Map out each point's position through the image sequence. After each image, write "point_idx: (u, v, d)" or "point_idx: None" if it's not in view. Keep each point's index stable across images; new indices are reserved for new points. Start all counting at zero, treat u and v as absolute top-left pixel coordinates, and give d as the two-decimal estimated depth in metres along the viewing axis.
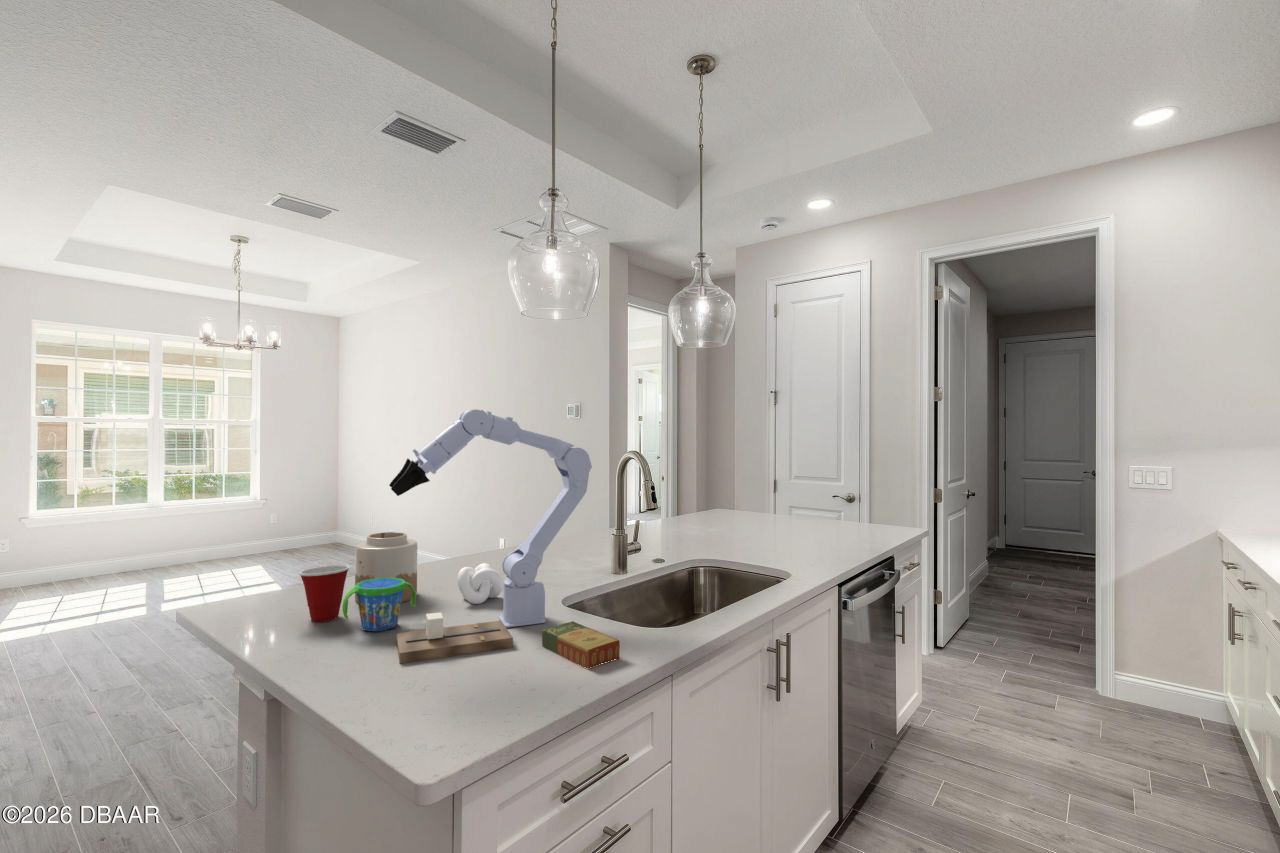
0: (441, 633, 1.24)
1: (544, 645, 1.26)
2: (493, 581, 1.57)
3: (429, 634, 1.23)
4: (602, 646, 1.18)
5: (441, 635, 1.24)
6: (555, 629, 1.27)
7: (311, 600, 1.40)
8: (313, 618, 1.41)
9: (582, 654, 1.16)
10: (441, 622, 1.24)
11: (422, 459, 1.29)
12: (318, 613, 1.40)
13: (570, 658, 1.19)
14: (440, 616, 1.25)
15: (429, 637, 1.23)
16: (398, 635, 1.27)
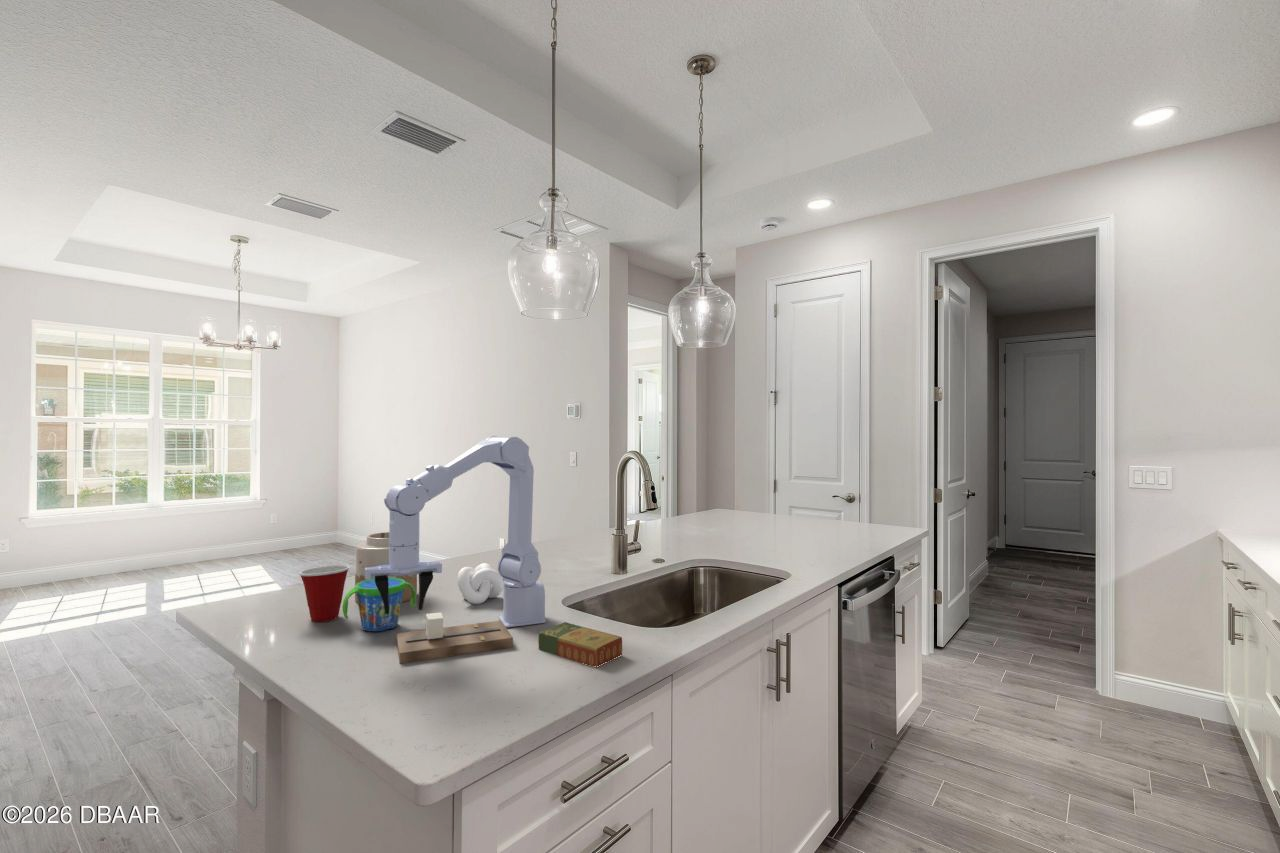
0: (441, 633, 1.24)
1: (541, 648, 1.24)
2: (493, 581, 1.57)
3: (429, 634, 1.23)
4: (608, 644, 1.19)
5: (441, 635, 1.24)
6: (552, 631, 1.26)
7: (311, 600, 1.40)
8: (313, 618, 1.41)
9: (590, 653, 1.17)
10: (441, 622, 1.24)
11: (428, 567, 1.23)
12: (318, 613, 1.40)
13: (574, 658, 1.19)
14: (440, 616, 1.25)
15: (429, 637, 1.23)
16: (398, 635, 1.27)
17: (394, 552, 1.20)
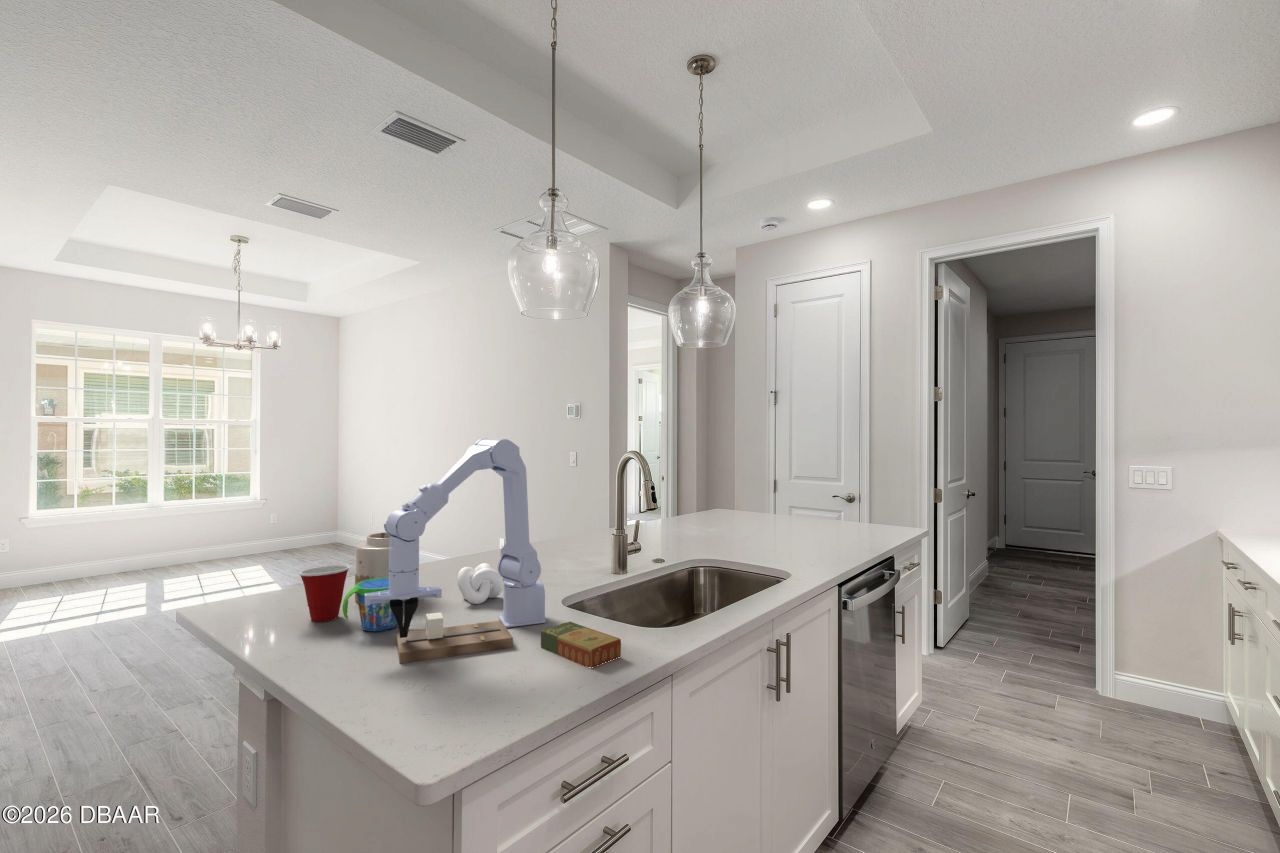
0: (441, 633, 1.24)
1: (543, 646, 1.25)
2: (493, 581, 1.57)
3: (429, 634, 1.23)
4: (604, 646, 1.18)
5: (441, 635, 1.24)
6: (554, 629, 1.26)
7: (311, 600, 1.40)
8: (313, 618, 1.41)
9: (585, 653, 1.16)
10: (441, 622, 1.24)
11: (427, 592, 1.23)
12: (318, 613, 1.40)
13: (572, 658, 1.19)
14: (440, 616, 1.25)
15: (429, 637, 1.23)
16: (398, 635, 1.27)
17: (394, 578, 1.20)
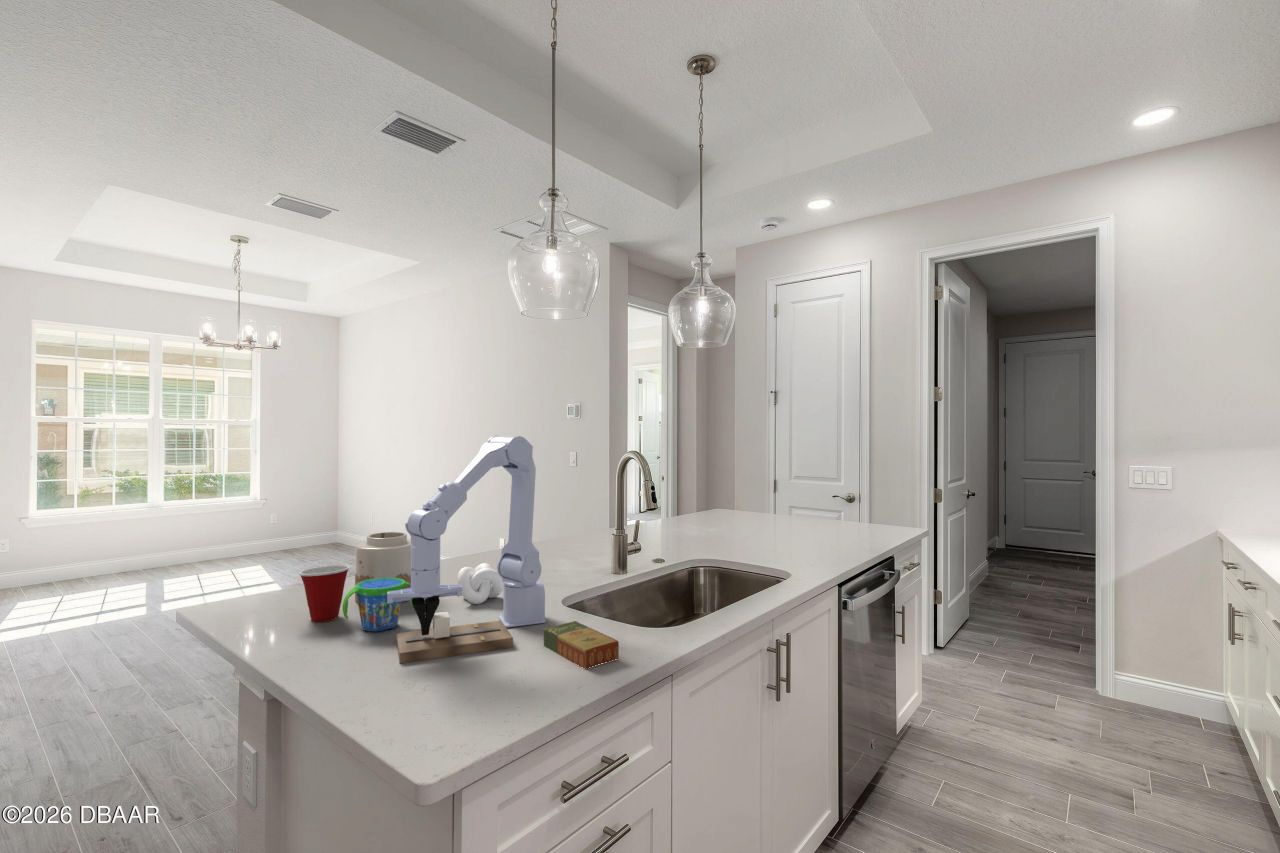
0: (448, 632, 1.24)
1: (545, 644, 1.26)
2: (493, 581, 1.57)
3: (436, 633, 1.24)
4: (600, 647, 1.17)
5: (448, 634, 1.25)
6: (556, 628, 1.27)
7: (311, 600, 1.40)
8: (313, 618, 1.41)
9: (580, 654, 1.16)
10: (448, 621, 1.24)
11: (449, 591, 1.25)
12: (318, 613, 1.40)
13: (569, 657, 1.19)
14: (446, 615, 1.25)
15: (436, 636, 1.24)
16: (398, 635, 1.27)
17: (416, 576, 1.22)
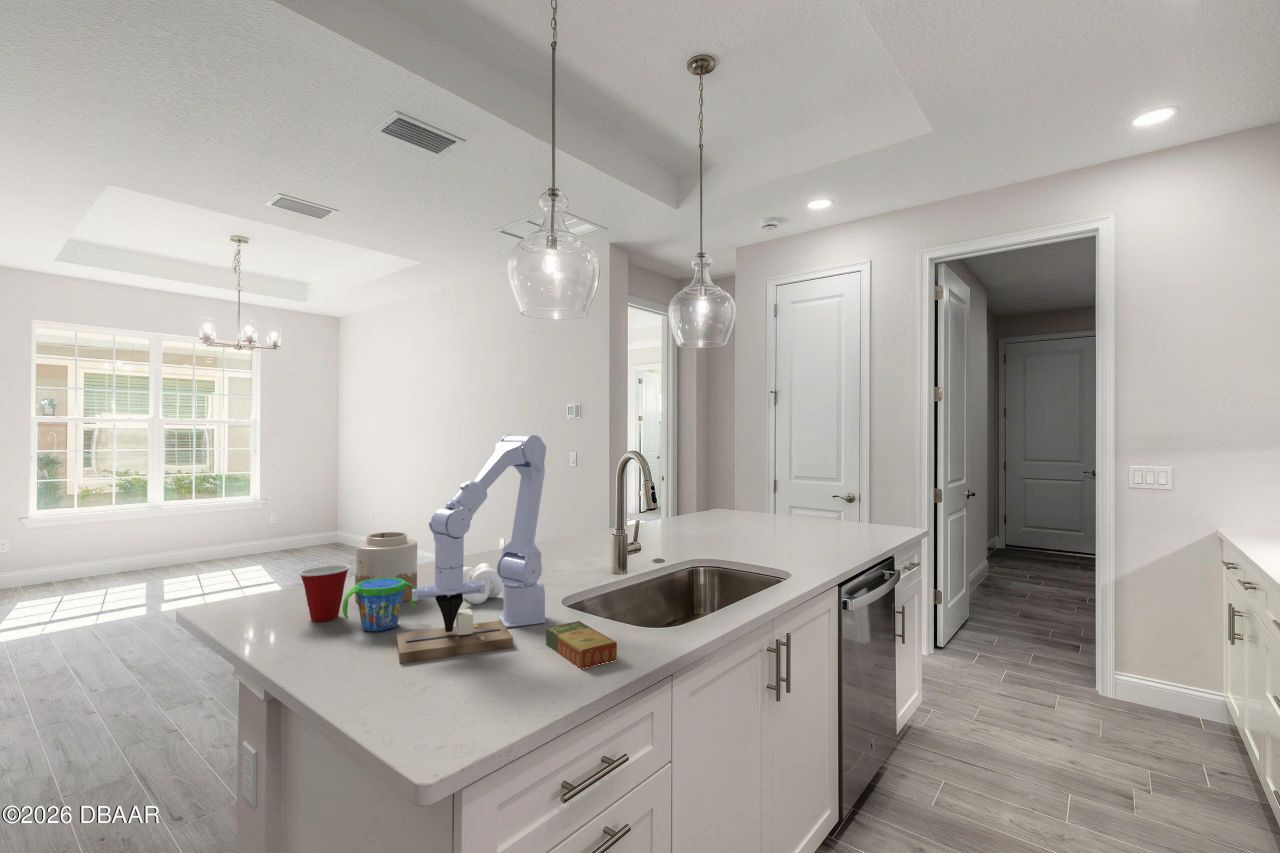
0: (471, 629, 1.26)
1: (547, 643, 1.27)
2: (493, 581, 1.57)
3: (459, 630, 1.25)
4: (597, 648, 1.17)
5: (471, 631, 1.26)
6: (558, 627, 1.27)
7: (311, 600, 1.40)
8: (313, 618, 1.41)
9: (577, 654, 1.16)
10: (471, 618, 1.26)
11: (472, 588, 1.27)
12: (318, 613, 1.40)
13: (567, 657, 1.19)
14: (470, 613, 1.27)
15: (459, 633, 1.25)
16: (398, 635, 1.27)
17: (440, 574, 1.24)
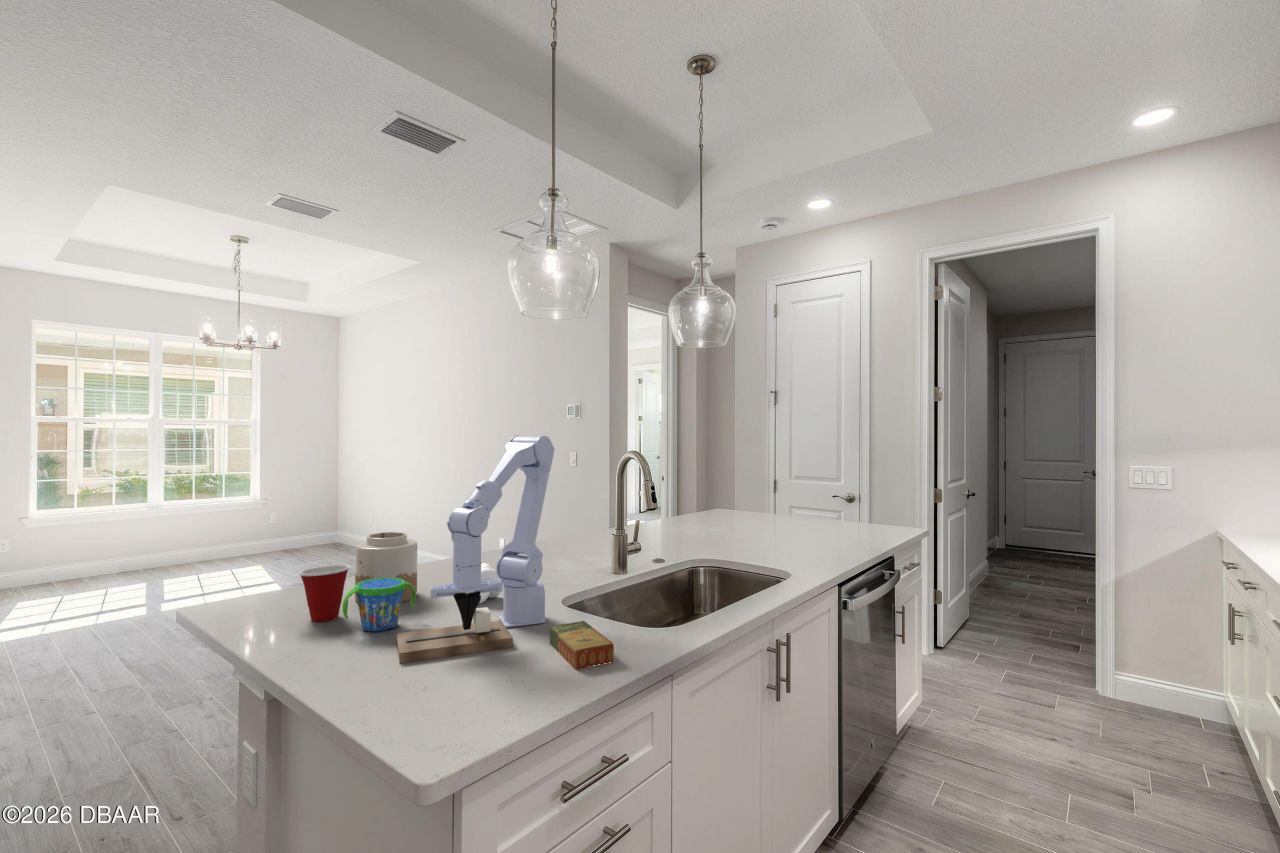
0: (488, 627, 1.28)
1: (550, 642, 1.28)
2: None
3: (477, 628, 1.27)
4: (593, 648, 1.16)
5: (488, 629, 1.28)
6: (561, 627, 1.28)
7: (311, 600, 1.40)
8: (313, 618, 1.41)
9: (572, 654, 1.16)
10: (488, 616, 1.28)
11: (489, 586, 1.28)
12: (318, 613, 1.40)
13: (565, 656, 1.20)
14: (487, 611, 1.29)
15: (477, 631, 1.27)
16: (398, 635, 1.27)
17: (459, 572, 1.25)
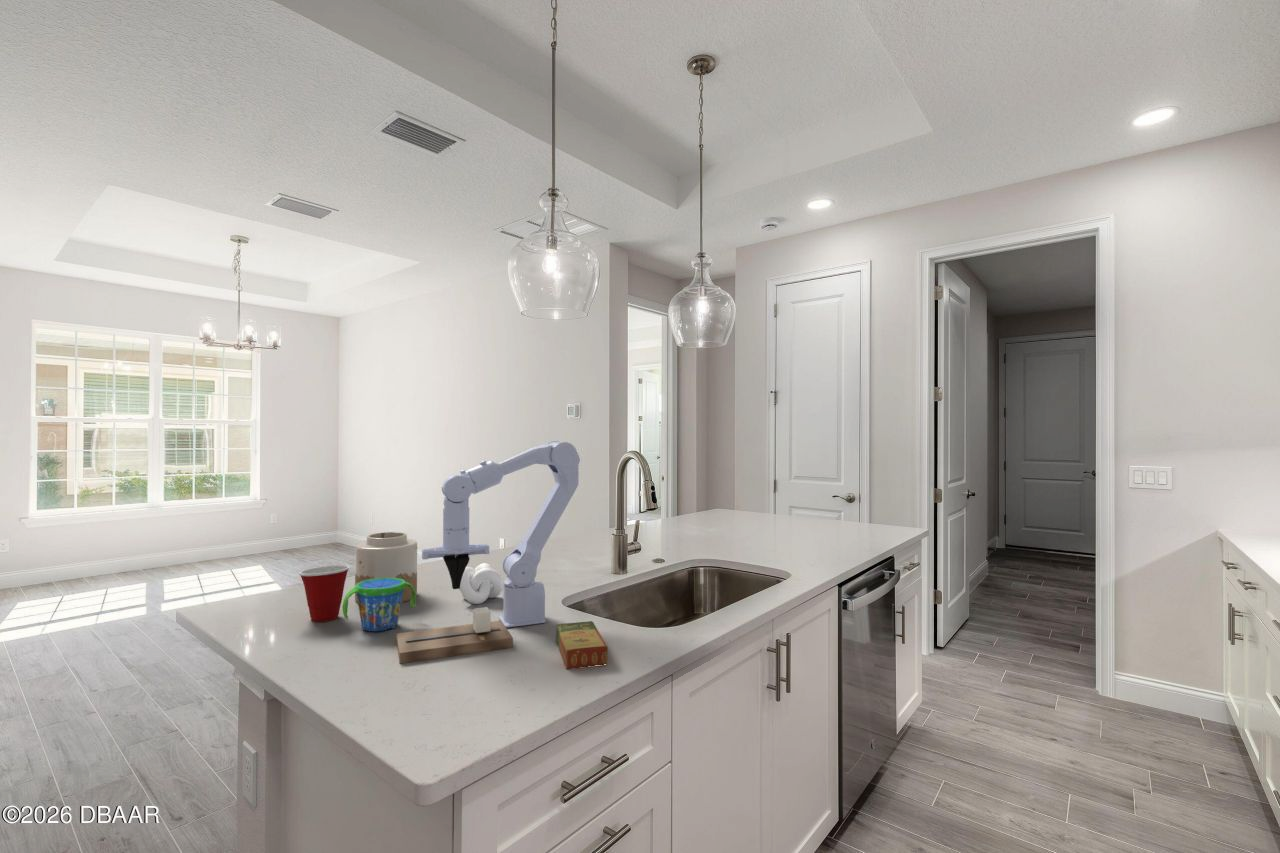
0: (488, 627, 1.28)
1: (556, 640, 1.29)
2: (493, 581, 1.57)
3: (477, 628, 1.27)
4: (585, 649, 1.16)
5: (488, 629, 1.28)
6: (566, 625, 1.29)
7: (311, 600, 1.40)
8: (313, 618, 1.41)
9: (565, 653, 1.16)
10: (488, 616, 1.28)
11: (477, 549, 1.38)
12: (318, 613, 1.40)
13: (562, 655, 1.20)
14: (487, 611, 1.29)
15: (477, 631, 1.27)
16: (398, 635, 1.27)
17: (448, 535, 1.34)
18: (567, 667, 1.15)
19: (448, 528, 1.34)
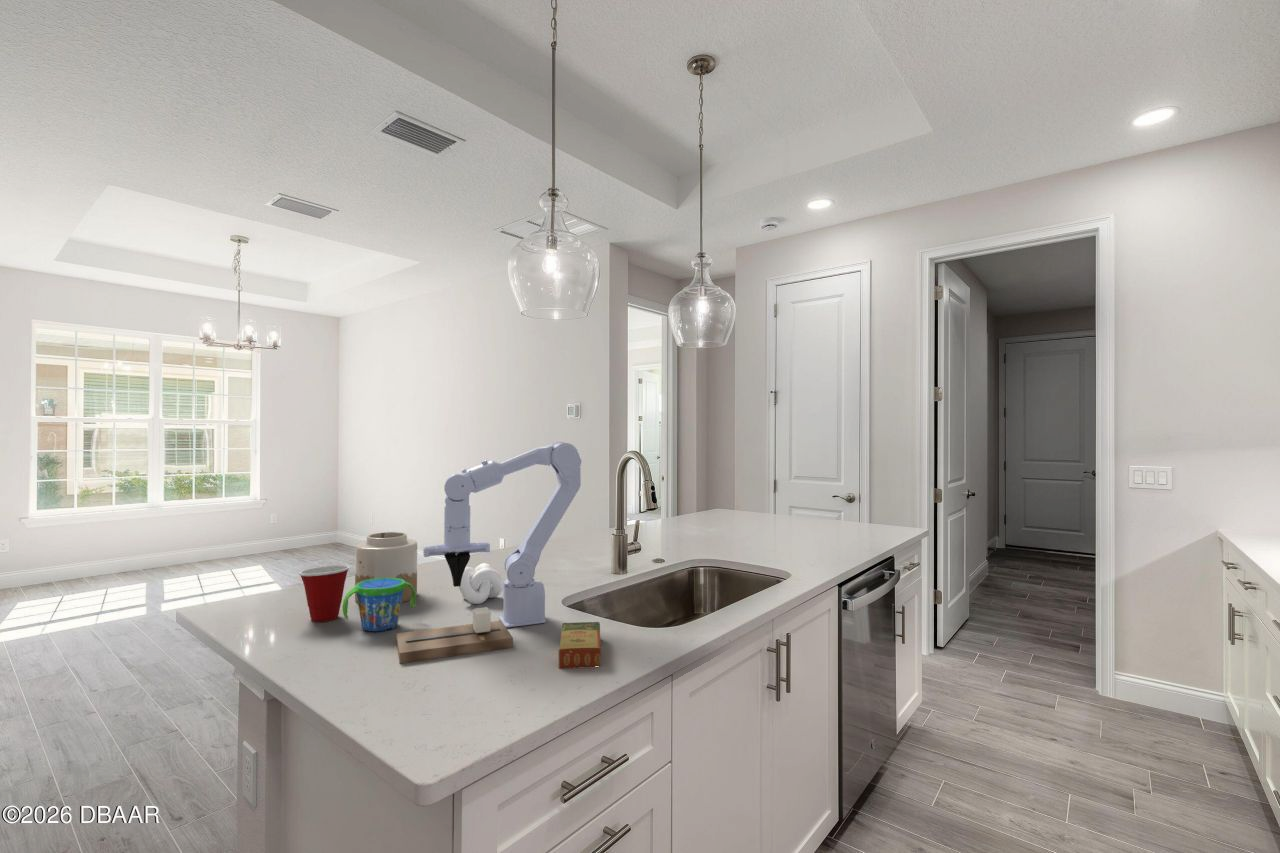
0: (488, 627, 1.28)
1: None
2: (493, 581, 1.57)
3: (477, 628, 1.27)
4: (577, 650, 1.16)
5: (488, 629, 1.28)
6: (571, 625, 1.29)
7: (311, 600, 1.40)
8: (313, 618, 1.41)
9: None
10: (488, 616, 1.28)
11: (478, 547, 1.39)
12: (318, 613, 1.40)
13: None
14: (487, 611, 1.29)
15: (477, 631, 1.27)
16: (398, 635, 1.27)
17: (449, 533, 1.36)
18: (559, 666, 1.15)
19: (448, 526, 1.36)
